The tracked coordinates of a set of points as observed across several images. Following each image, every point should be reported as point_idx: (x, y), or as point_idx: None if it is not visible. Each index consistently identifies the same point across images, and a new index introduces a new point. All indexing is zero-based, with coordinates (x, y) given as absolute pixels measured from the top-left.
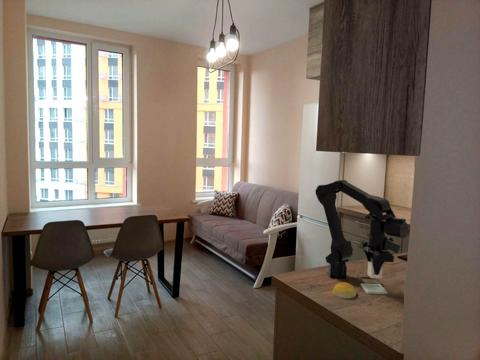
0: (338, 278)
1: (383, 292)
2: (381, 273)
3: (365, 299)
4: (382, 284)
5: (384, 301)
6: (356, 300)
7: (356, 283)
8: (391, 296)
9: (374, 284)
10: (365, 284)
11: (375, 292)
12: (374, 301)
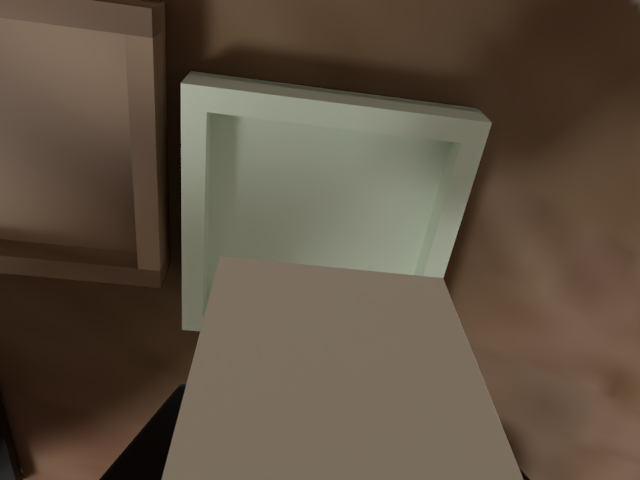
0: (9, 442)
1: (470, 170)
2: (468, 361)
3: (518, 379)
4: (157, 13)
5: (624, 233)
6: (514, 444)
7: (95, 310)
8: (532, 68)
9: (205, 175)
10: (204, 285)
11: (442, 263)
12: (584, 326)
